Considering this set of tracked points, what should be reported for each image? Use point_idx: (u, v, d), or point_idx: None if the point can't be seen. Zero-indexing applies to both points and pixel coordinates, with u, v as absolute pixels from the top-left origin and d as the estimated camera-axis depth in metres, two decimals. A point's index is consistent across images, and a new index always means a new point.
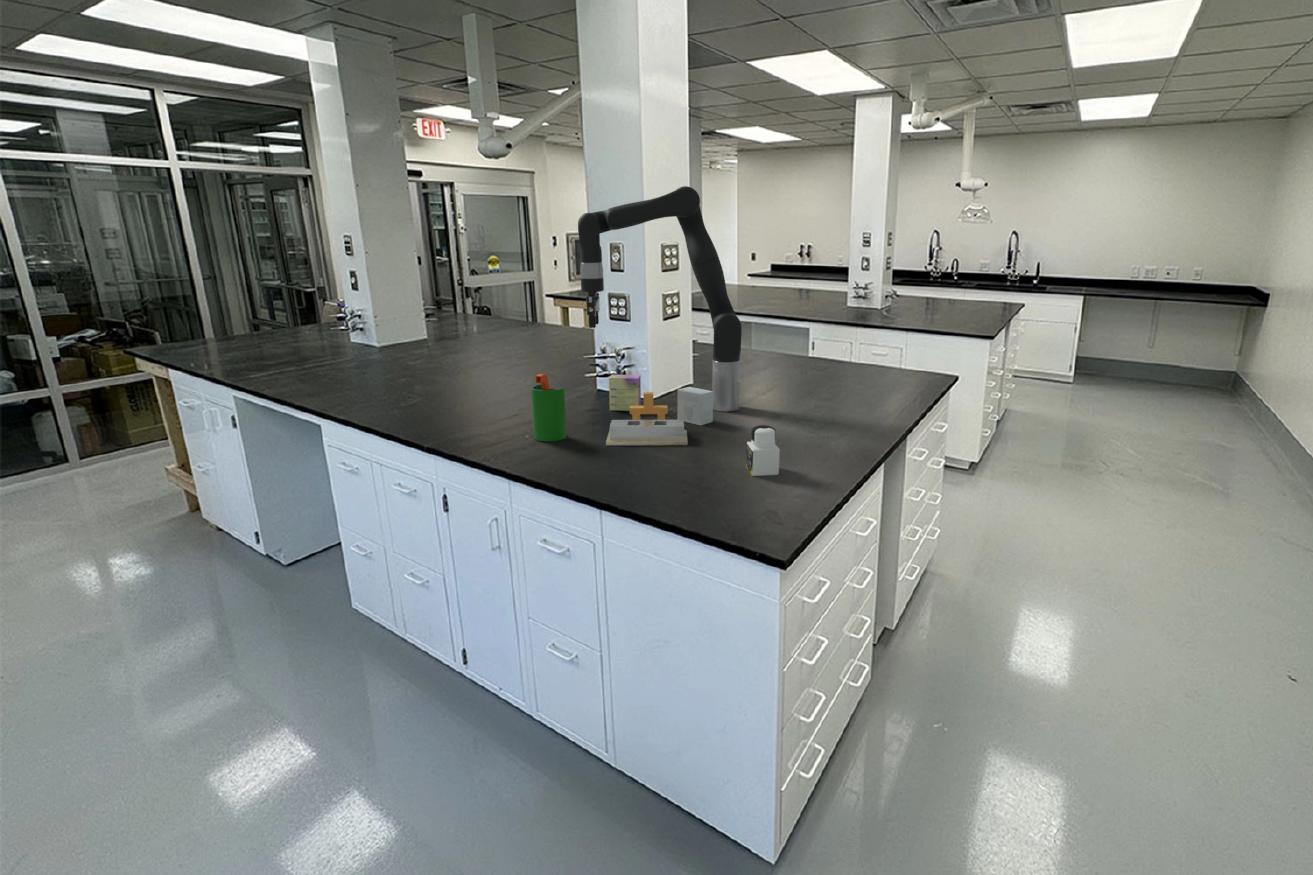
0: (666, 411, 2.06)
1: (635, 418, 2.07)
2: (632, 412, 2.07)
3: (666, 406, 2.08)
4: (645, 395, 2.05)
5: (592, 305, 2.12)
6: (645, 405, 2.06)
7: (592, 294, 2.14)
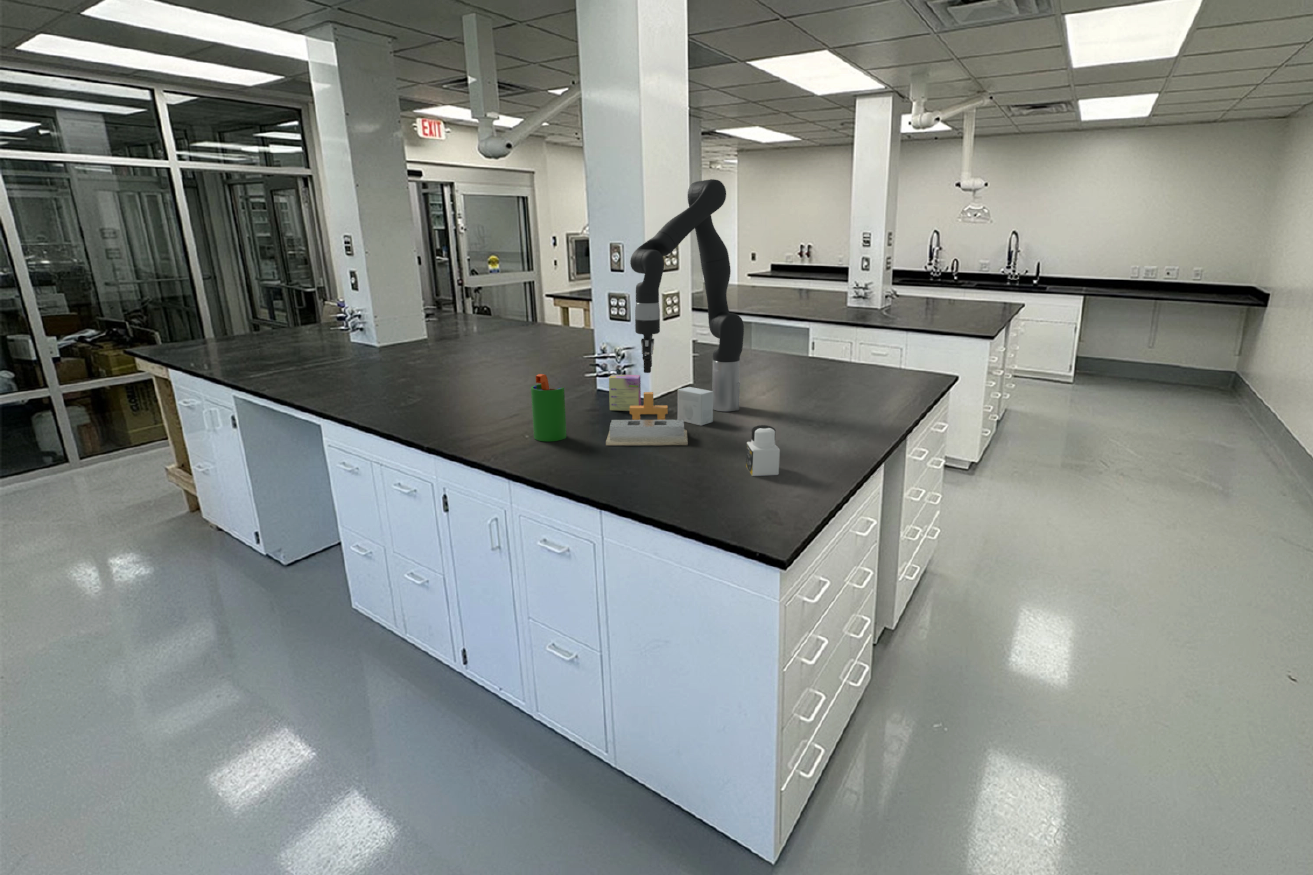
0: (666, 411, 2.06)
1: (635, 418, 2.07)
2: (632, 412, 2.07)
3: (666, 406, 2.08)
4: (645, 395, 2.05)
5: (648, 349, 1.95)
6: (645, 405, 2.06)
7: (648, 337, 1.97)
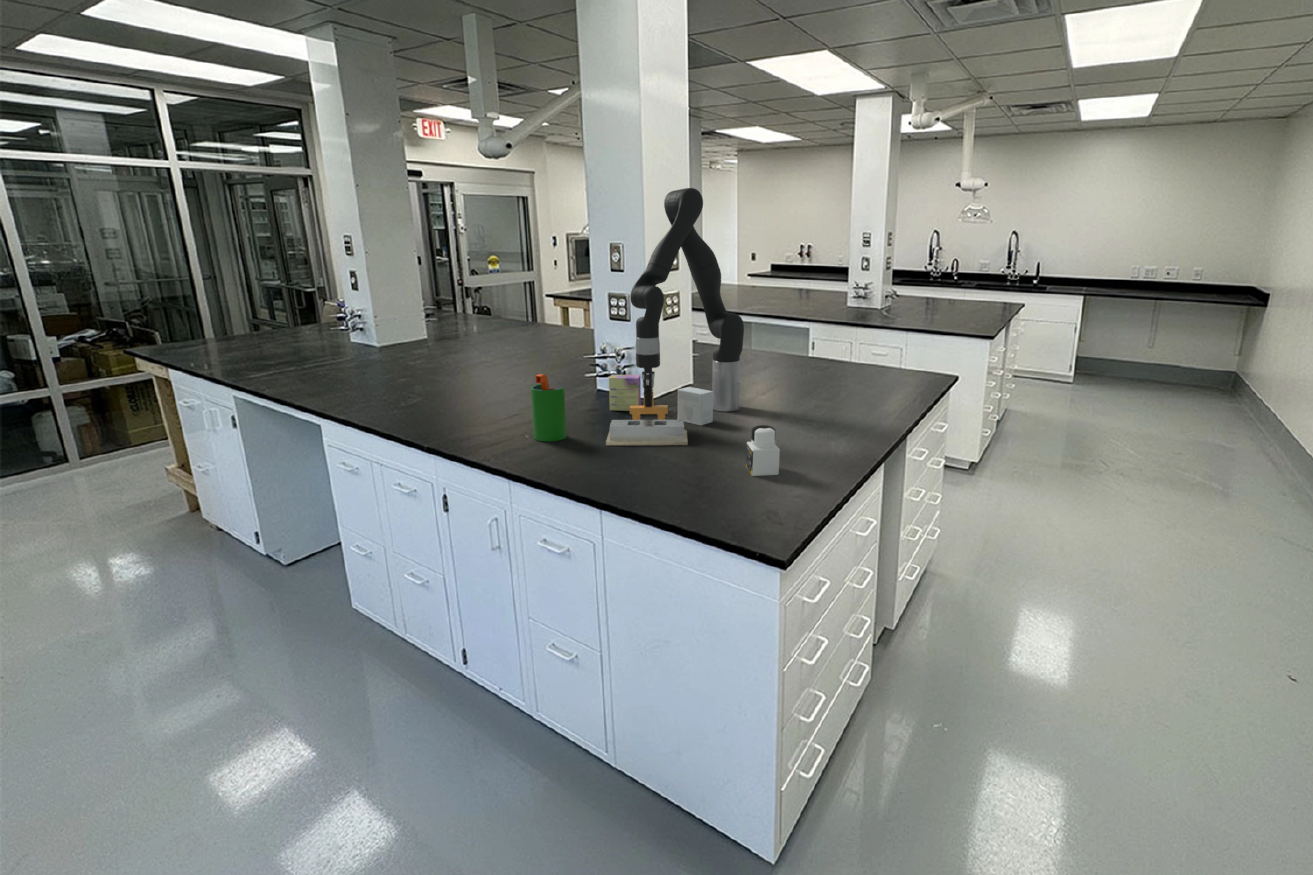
0: (666, 411, 2.06)
1: (635, 418, 2.07)
2: (632, 412, 2.07)
3: (666, 406, 2.08)
4: None
5: (649, 387, 2.00)
6: None
7: (648, 371, 2.00)
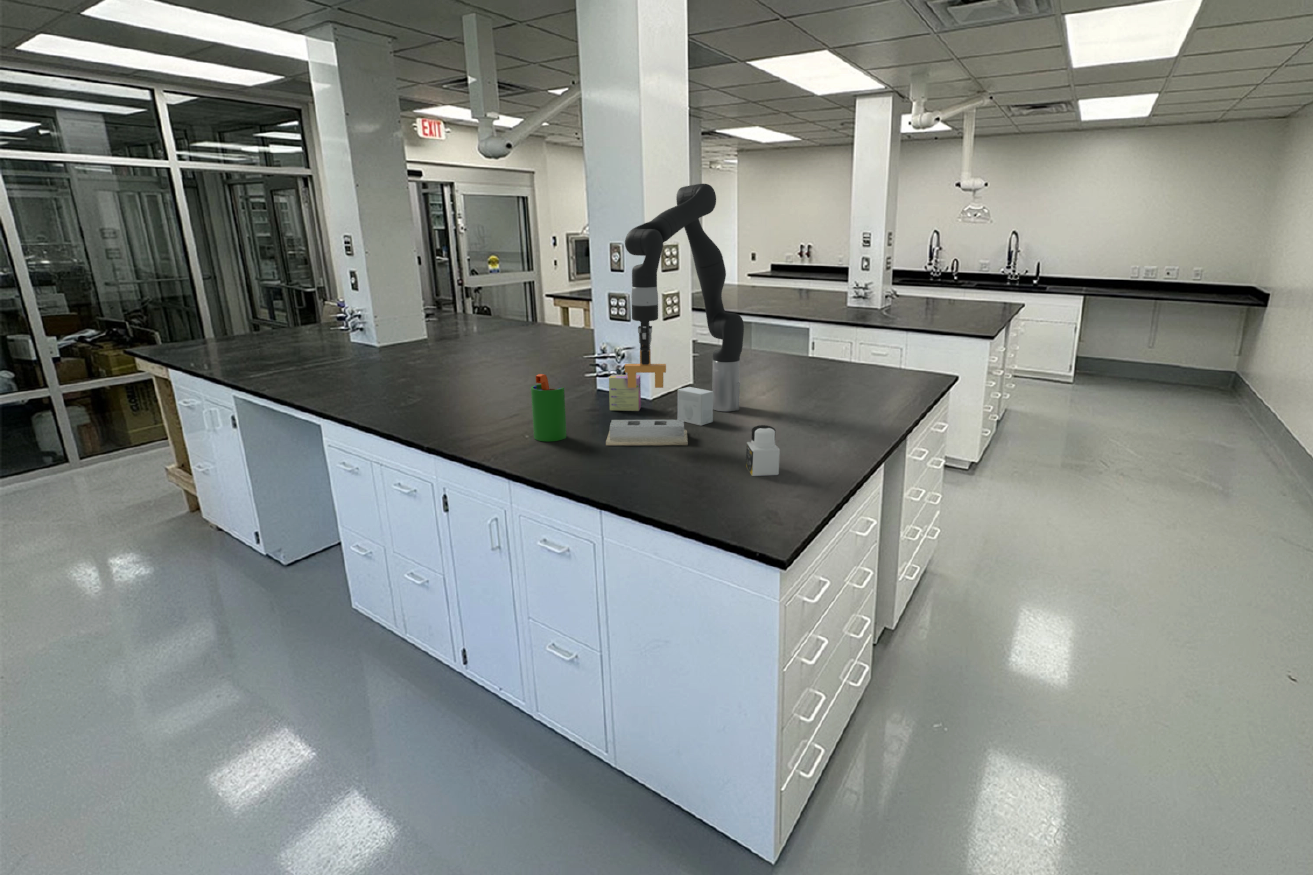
0: (664, 369, 1.89)
1: (630, 377, 1.90)
2: (627, 370, 1.89)
3: (664, 364, 1.90)
4: None
5: (646, 342, 1.83)
6: (641, 363, 1.89)
7: (645, 324, 1.83)
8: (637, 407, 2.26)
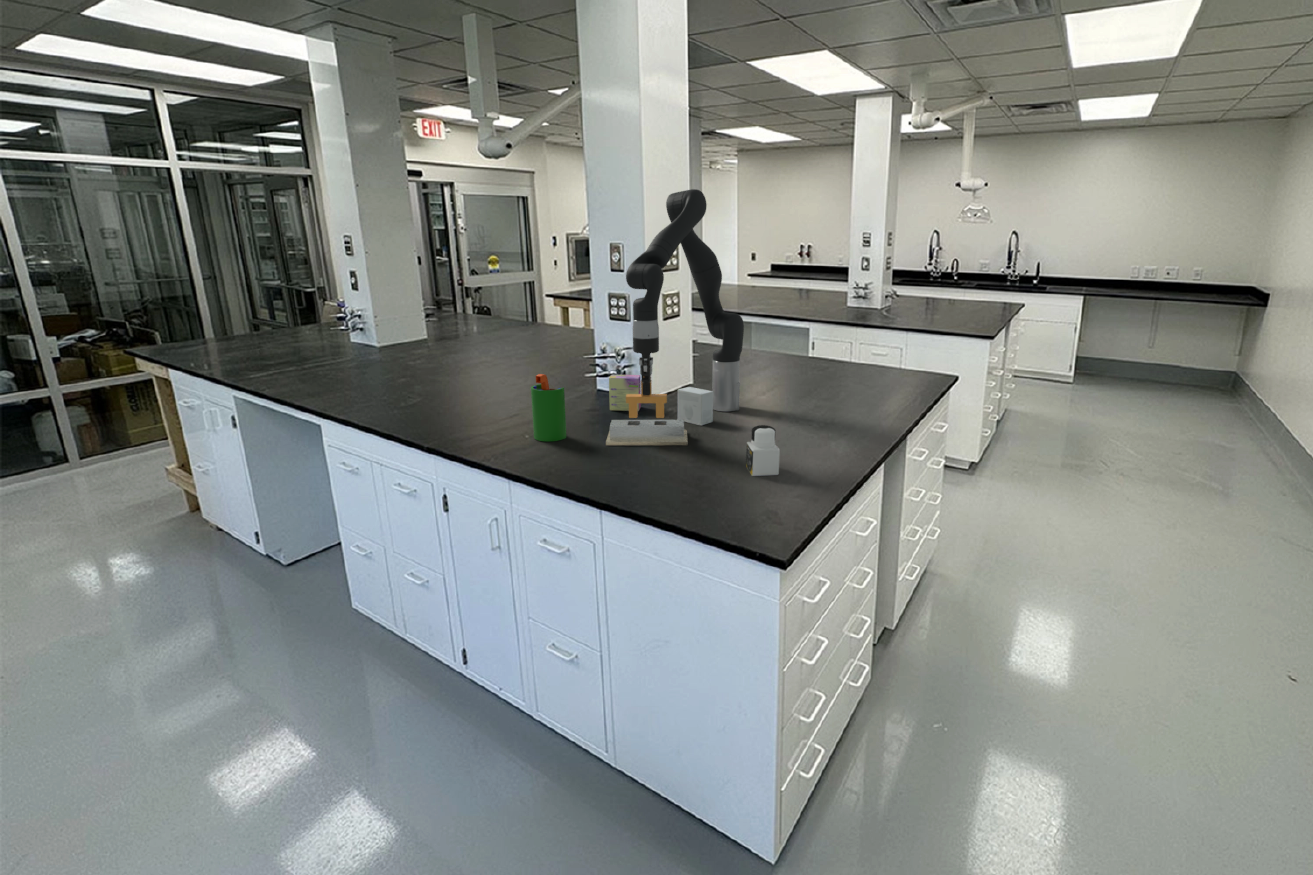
0: (665, 400, 1.92)
1: (632, 407, 1.93)
2: (629, 401, 1.92)
3: (665, 395, 1.93)
4: None
5: (647, 374, 1.85)
6: None
7: (646, 356, 1.85)
8: None
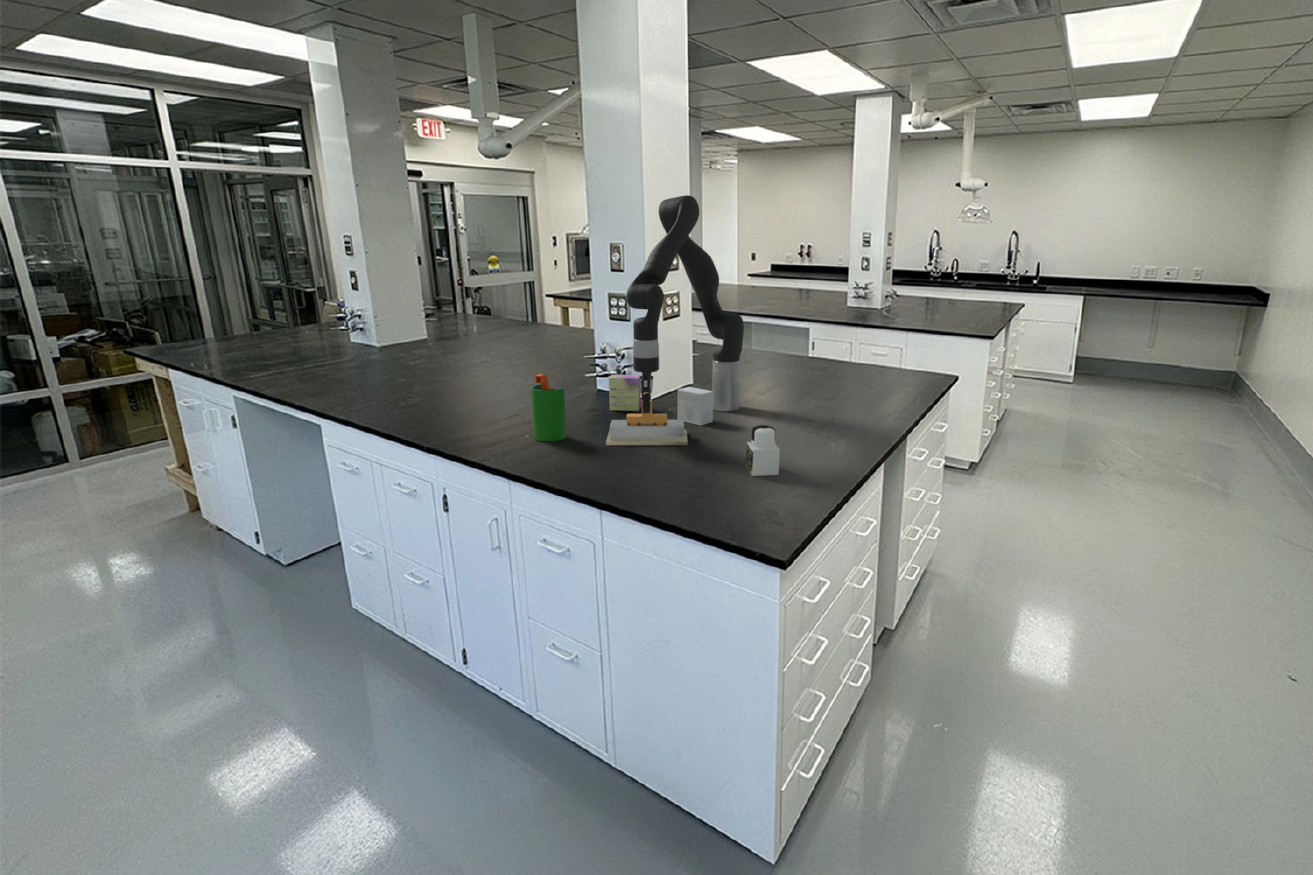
0: (665, 420, 1.94)
1: None
2: (629, 421, 1.94)
3: (665, 414, 1.95)
4: None
5: (647, 390, 1.85)
6: (643, 413, 1.93)
7: (647, 375, 1.87)
8: (637, 407, 2.26)
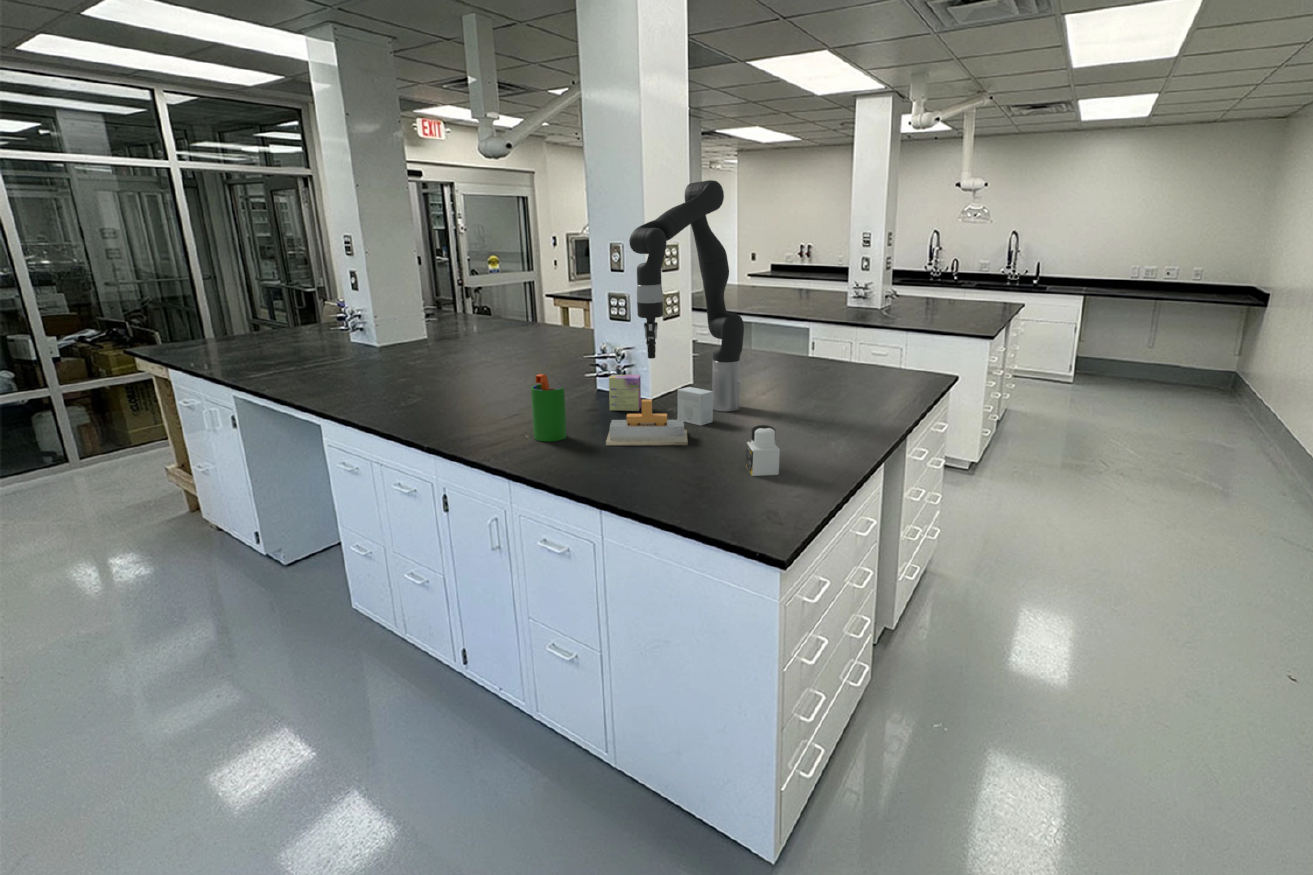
0: (665, 420, 1.94)
1: None
2: (629, 421, 1.94)
3: (665, 414, 1.95)
4: (643, 403, 1.92)
5: (652, 333, 1.85)
6: (643, 413, 1.93)
7: (651, 320, 1.87)
8: (637, 407, 2.26)
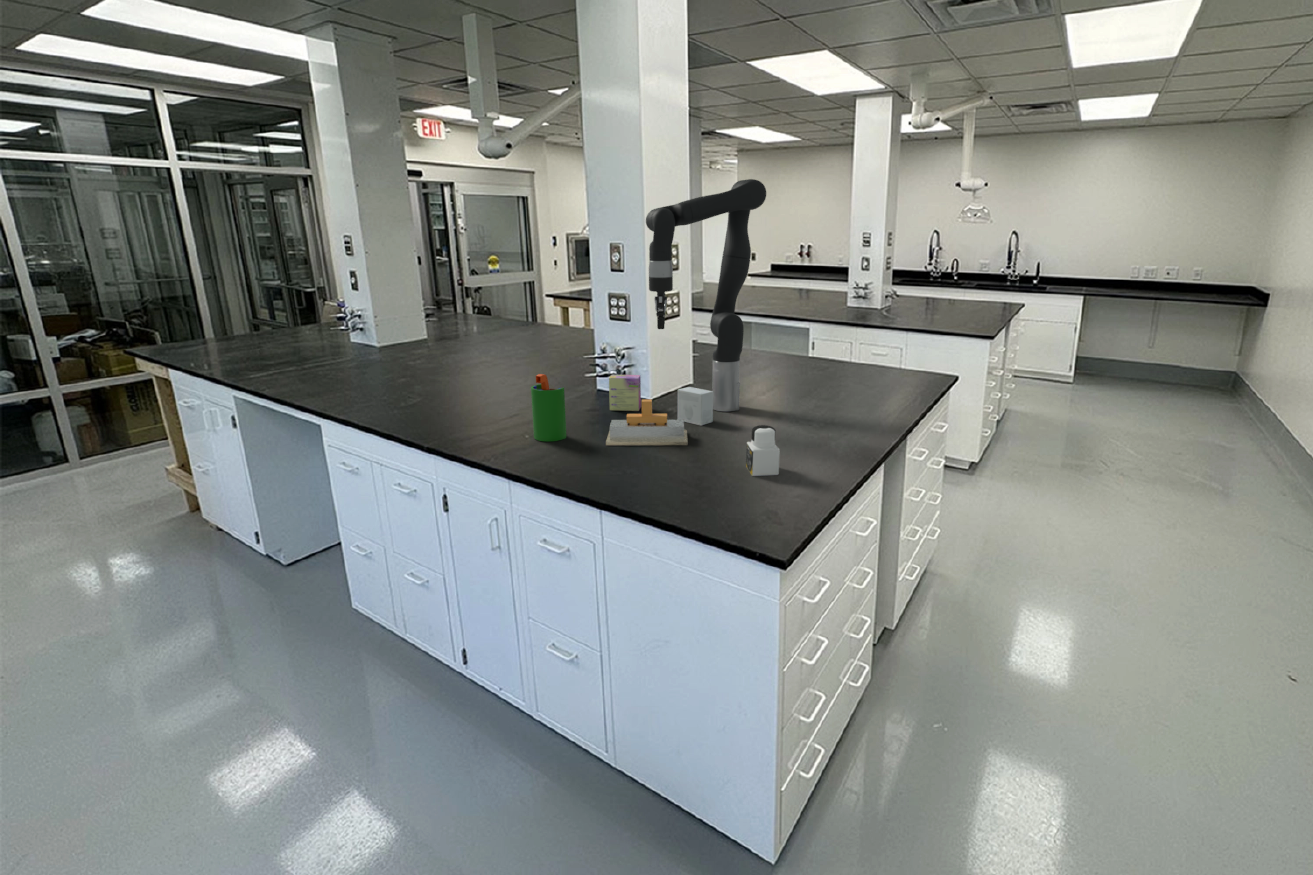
0: (665, 420, 1.94)
1: None
2: (629, 421, 1.94)
3: (665, 414, 1.95)
4: (643, 403, 1.92)
5: (662, 305, 2.01)
6: (643, 413, 1.93)
7: (661, 294, 2.03)
8: (637, 407, 2.26)
